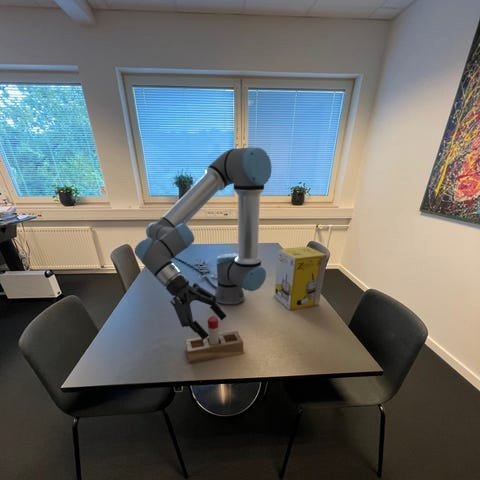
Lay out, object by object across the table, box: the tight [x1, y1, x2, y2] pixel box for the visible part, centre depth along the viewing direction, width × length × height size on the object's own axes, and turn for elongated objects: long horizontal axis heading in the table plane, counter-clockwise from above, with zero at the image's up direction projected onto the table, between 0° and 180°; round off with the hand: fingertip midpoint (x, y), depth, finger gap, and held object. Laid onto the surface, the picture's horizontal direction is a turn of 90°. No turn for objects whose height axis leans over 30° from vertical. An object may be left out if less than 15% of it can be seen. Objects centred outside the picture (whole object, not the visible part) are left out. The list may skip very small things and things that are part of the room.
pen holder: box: [184, 330, 244, 364], centre depth 93 cm, size 8×20×5 cm, turn 107°
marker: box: [207, 315, 220, 345], centre depth 91 cm, size 4×4×14 cm
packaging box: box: [274, 246, 328, 311], centre depth 126 cm, size 16×16×25 cm
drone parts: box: [194, 258, 217, 279], centre depth 171 cm, size 23×35×3 cm, turn 12°
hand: (215, 327), depth 89 cm, fingers open, 13 cm apart
